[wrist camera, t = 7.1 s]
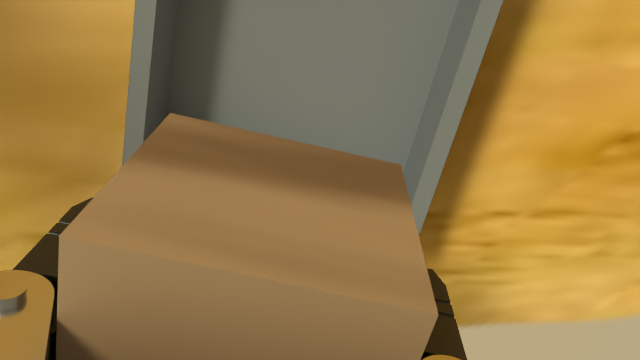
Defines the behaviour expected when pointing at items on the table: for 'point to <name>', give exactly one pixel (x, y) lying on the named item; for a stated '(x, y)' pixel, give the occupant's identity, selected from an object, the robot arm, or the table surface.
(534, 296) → the table surface
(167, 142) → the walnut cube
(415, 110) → the tote
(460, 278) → the table surface
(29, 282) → the robot arm
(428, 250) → the table surface
